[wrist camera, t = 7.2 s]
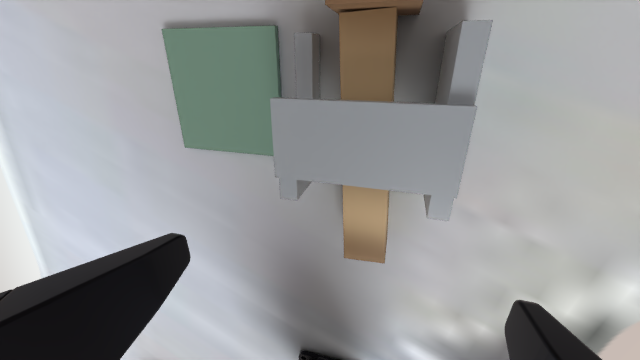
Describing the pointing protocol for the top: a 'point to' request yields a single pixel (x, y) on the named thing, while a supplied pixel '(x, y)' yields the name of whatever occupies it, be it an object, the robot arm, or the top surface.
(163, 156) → the top surface
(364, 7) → the block
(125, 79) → the top surface
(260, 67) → the coaster
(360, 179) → the tunnel
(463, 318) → the top surface
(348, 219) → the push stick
